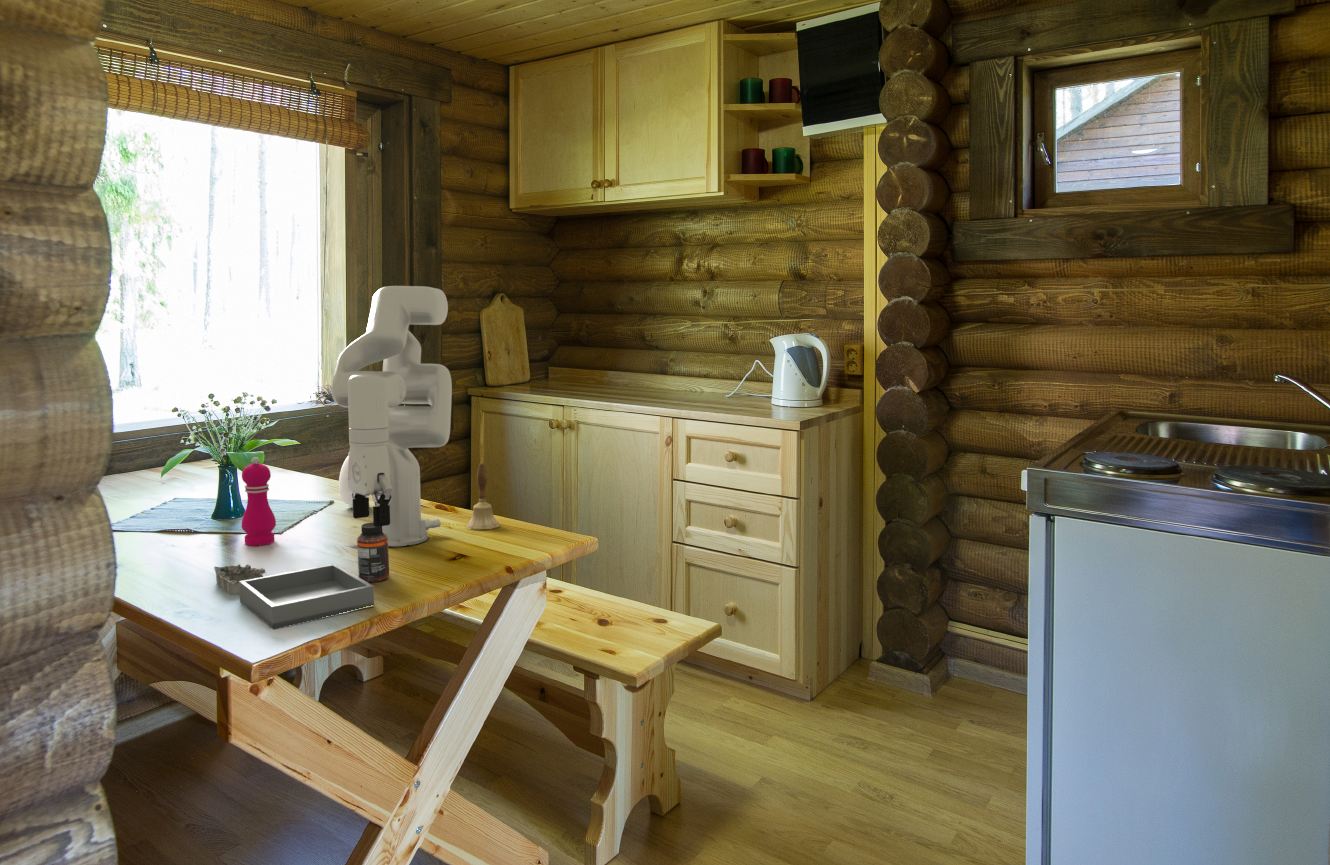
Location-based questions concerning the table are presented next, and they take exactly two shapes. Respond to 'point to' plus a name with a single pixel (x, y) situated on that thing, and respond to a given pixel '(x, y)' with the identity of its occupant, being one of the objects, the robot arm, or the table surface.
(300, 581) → the tray
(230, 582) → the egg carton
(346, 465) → the air blower bulb
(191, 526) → the table surface
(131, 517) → the table surface
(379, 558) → the supplement bottle
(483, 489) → the hand bell
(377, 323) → the robot arm
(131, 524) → the table surface
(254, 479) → the pepper mill
